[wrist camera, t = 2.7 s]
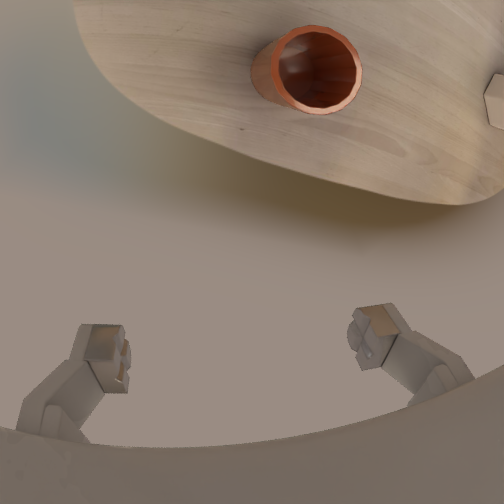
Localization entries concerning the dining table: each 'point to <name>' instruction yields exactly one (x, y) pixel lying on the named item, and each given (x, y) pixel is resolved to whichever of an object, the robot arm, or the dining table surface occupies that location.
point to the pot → (308, 70)
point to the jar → (495, 101)
